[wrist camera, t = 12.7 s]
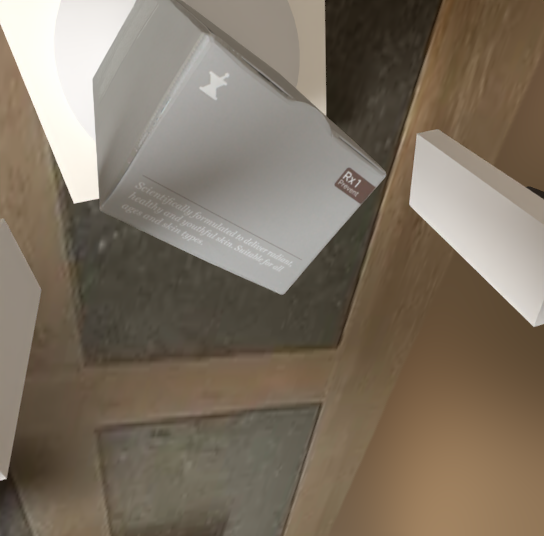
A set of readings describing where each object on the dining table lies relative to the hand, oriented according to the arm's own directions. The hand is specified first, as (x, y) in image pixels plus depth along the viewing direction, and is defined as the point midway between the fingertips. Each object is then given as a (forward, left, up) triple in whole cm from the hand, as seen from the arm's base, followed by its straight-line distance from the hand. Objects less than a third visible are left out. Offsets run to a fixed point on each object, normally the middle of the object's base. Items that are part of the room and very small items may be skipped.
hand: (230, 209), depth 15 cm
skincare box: (+1, 0, -16) cm, 16 cm away
